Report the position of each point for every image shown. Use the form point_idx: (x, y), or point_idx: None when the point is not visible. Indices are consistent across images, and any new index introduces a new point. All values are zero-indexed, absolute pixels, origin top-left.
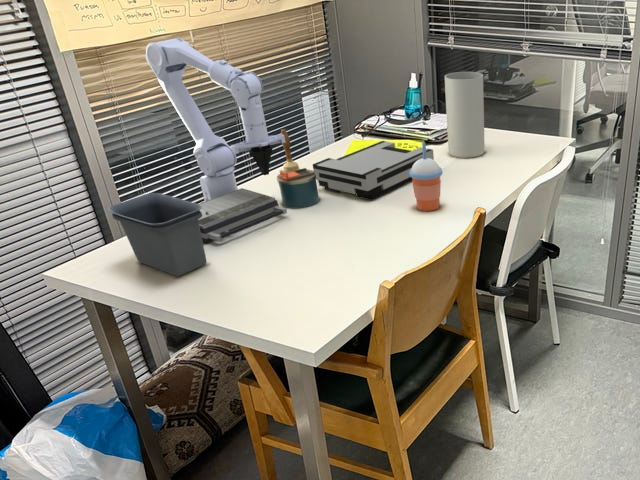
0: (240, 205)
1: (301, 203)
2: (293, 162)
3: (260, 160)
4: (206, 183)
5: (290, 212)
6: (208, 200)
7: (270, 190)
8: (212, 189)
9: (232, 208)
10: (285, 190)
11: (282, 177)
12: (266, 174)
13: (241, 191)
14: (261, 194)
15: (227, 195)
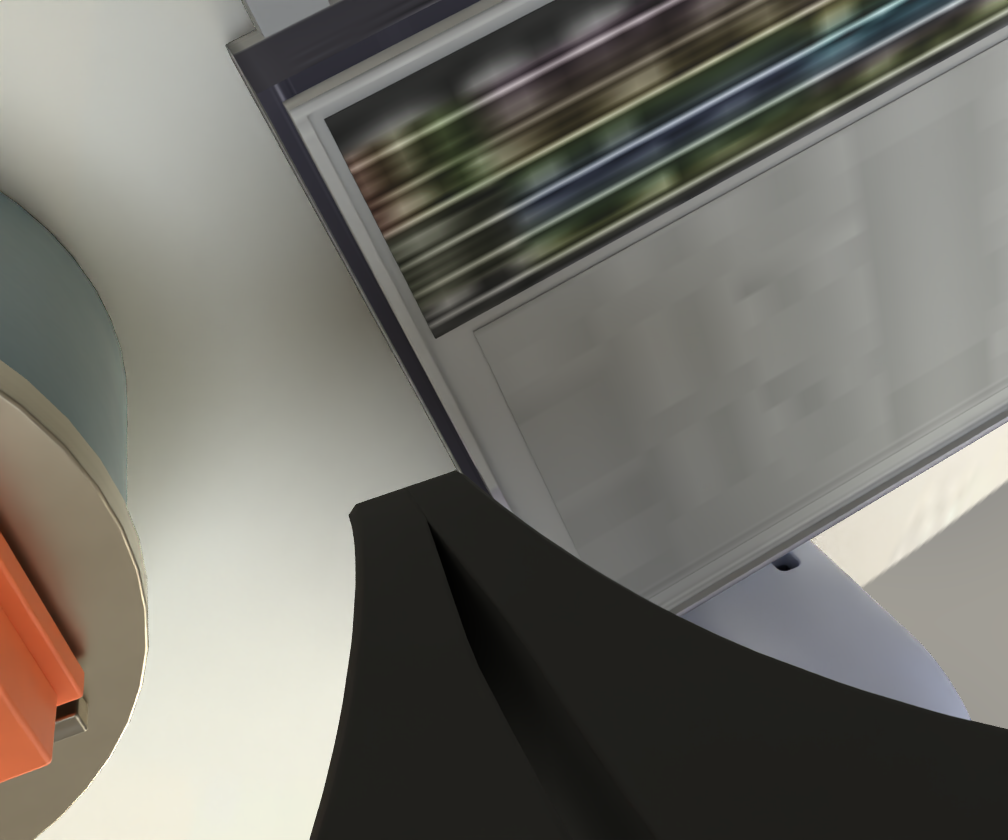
0: (818, 81)
1: None
2: None
3: (720, 664)
4: (954, 698)
5: (54, 17)
6: (973, 437)
7: (210, 816)
8: (875, 645)
9: (936, 18)
10: (36, 346)
11: (22, 578)
12: (417, 485)
13: None
14: (446, 387)
15: (777, 520)
